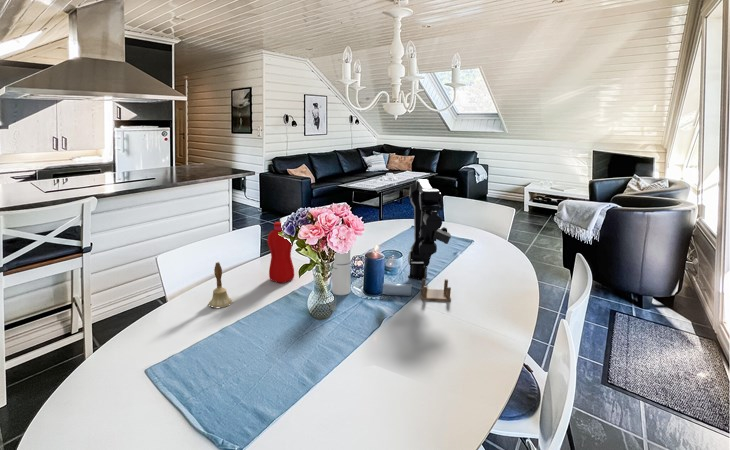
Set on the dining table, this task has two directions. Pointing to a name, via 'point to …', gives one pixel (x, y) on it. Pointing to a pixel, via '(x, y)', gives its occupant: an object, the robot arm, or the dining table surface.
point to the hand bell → (219, 290)
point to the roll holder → (436, 292)
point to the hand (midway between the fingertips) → (426, 261)
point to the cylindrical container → (341, 274)
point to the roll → (397, 289)
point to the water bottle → (280, 256)
